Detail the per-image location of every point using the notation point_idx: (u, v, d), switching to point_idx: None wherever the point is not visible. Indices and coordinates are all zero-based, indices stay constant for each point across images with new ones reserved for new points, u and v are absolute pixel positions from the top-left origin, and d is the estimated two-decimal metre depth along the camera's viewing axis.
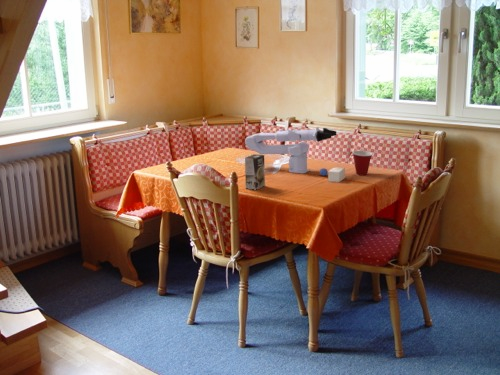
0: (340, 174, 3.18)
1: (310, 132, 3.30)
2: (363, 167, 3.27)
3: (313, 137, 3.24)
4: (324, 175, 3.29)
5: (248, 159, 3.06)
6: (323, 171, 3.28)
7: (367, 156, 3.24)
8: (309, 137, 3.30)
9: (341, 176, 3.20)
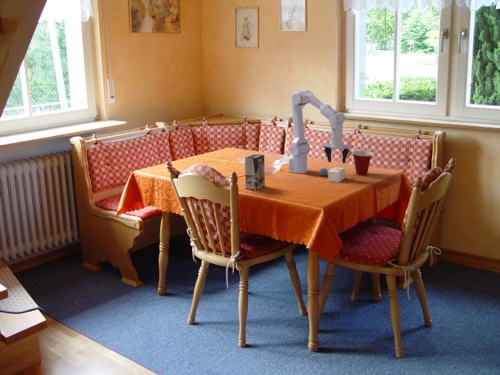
0: (340, 174, 3.18)
1: (331, 140, 3.16)
2: (363, 167, 3.27)
3: None
4: (324, 175, 3.29)
5: (248, 159, 3.06)
6: (323, 171, 3.28)
7: (367, 156, 3.24)
8: None
9: (341, 176, 3.20)
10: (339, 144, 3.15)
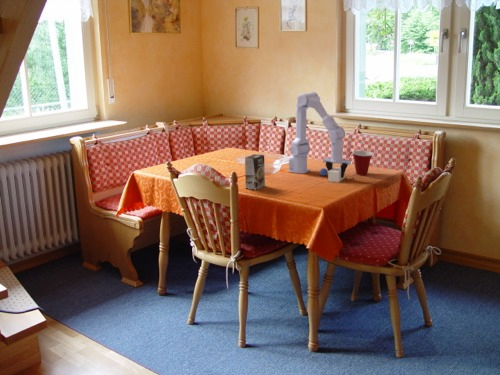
0: (340, 174, 3.18)
1: (331, 154, 3.18)
2: (363, 167, 3.27)
3: None
4: (324, 175, 3.29)
5: (248, 159, 3.06)
6: (323, 171, 3.28)
7: (367, 156, 3.24)
8: None
9: None
10: (339, 159, 3.17)
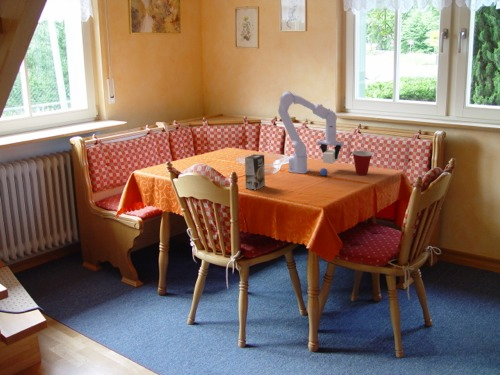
0: (334, 156, 3.34)
1: None
2: (363, 167, 3.27)
3: None
4: (324, 175, 3.29)
5: (248, 159, 3.06)
6: (323, 171, 3.28)
7: (367, 156, 3.24)
8: None
9: None
10: (333, 141, 3.33)
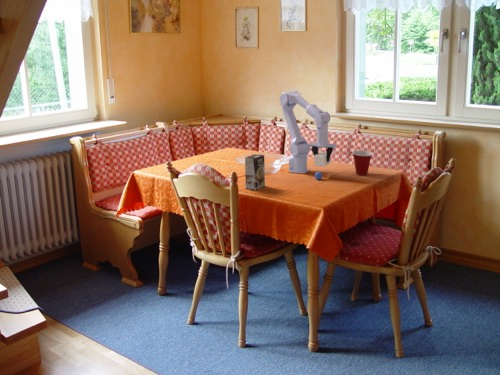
0: (326, 158, 3.23)
1: (317, 138, 3.23)
2: (363, 167, 3.27)
3: None
4: (319, 172, 3.22)
5: (248, 159, 3.06)
6: None
7: (367, 156, 3.24)
8: None
9: None
10: (324, 143, 3.21)
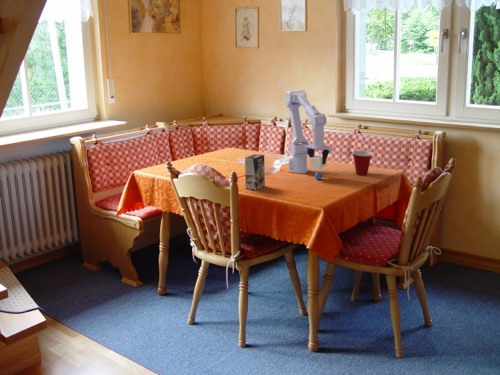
0: (322, 161, 3.19)
1: (313, 141, 3.18)
2: (363, 167, 3.27)
3: None
4: (319, 172, 3.22)
5: (248, 159, 3.06)
6: None
7: (367, 156, 3.24)
8: None
9: None
10: (320, 145, 3.17)
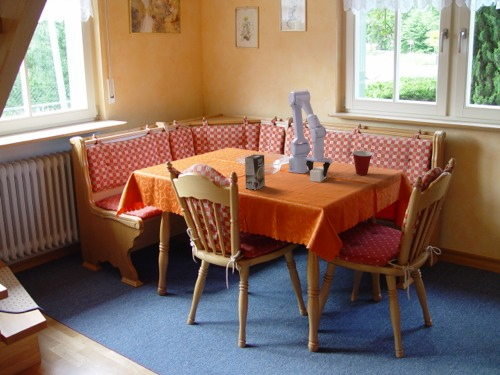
0: (322, 174, 3.20)
1: (313, 153, 3.20)
2: (363, 167, 3.27)
3: None
4: None
5: (248, 159, 3.06)
6: None
7: (367, 156, 3.24)
8: None
9: (323, 176, 3.22)
10: (320, 158, 3.18)
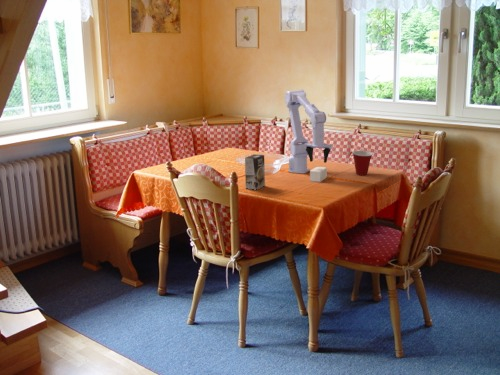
0: (322, 174, 3.20)
1: (313, 139, 3.18)
2: (363, 167, 3.27)
3: None
4: None
5: (248, 159, 3.06)
6: None
7: (367, 156, 3.24)
8: None
9: (323, 176, 3.22)
10: (320, 143, 3.16)
